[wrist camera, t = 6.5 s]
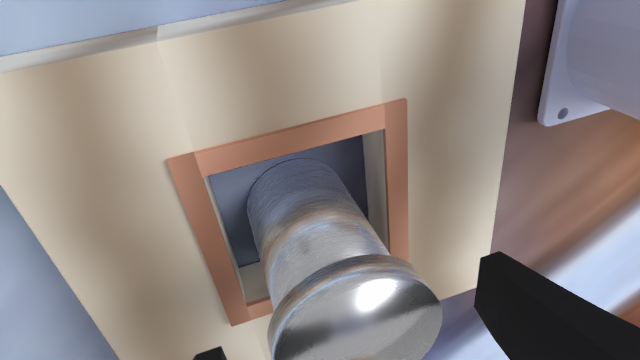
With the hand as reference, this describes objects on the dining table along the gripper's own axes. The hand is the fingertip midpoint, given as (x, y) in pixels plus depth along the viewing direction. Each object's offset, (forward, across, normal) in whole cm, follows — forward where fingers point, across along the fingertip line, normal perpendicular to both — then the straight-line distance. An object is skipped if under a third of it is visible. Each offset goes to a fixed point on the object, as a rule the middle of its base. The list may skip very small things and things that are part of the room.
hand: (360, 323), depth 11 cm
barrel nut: (+7, 0, 0) cm, 7 cm away
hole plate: (+7, 0, 0) cm, 7 cm away
